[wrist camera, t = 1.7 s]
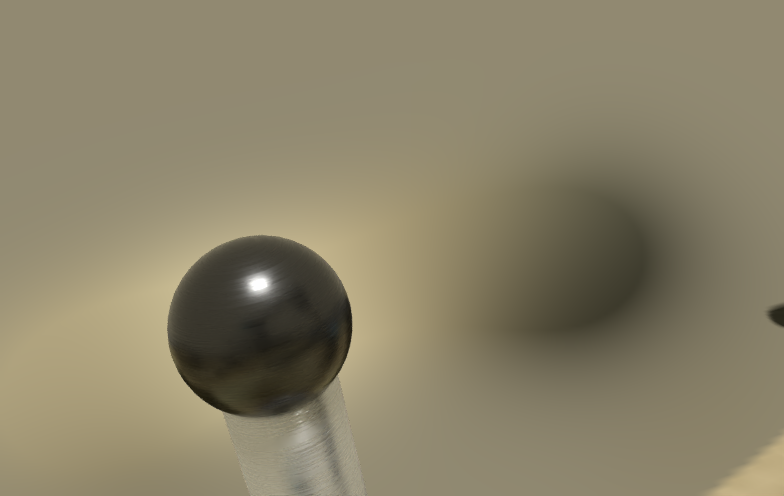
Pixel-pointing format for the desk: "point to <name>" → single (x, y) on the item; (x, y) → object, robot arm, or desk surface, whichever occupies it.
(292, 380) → the plunger
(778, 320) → the desk surface
